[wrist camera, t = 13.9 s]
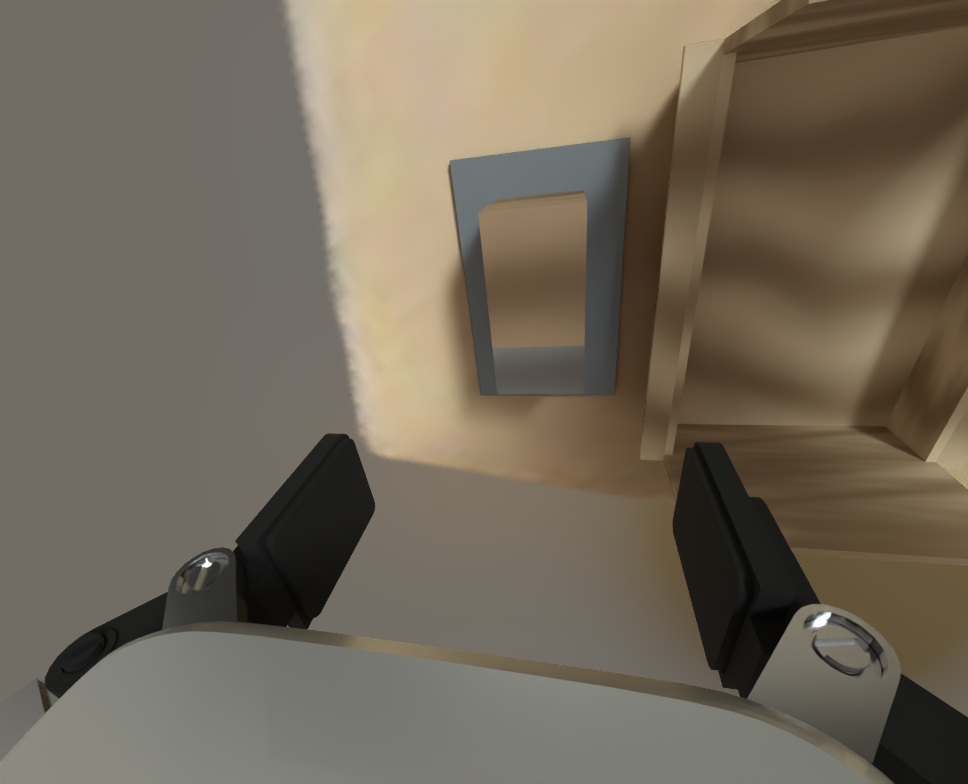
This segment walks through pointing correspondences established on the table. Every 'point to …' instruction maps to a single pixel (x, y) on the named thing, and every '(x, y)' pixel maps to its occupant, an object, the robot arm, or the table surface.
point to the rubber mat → (606, 194)
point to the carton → (823, 274)
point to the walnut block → (536, 291)
